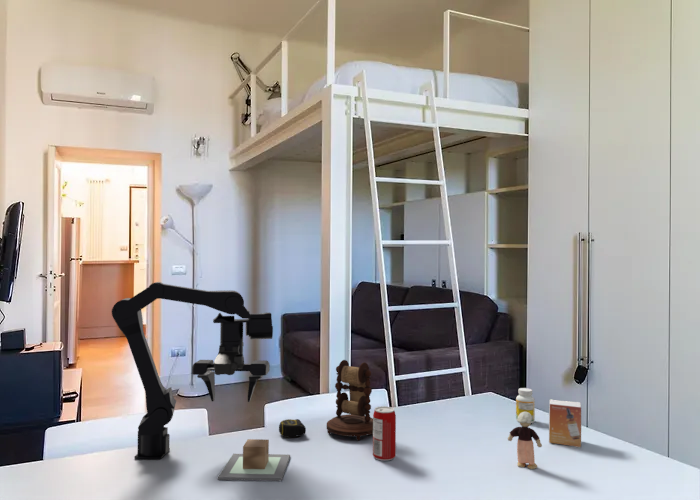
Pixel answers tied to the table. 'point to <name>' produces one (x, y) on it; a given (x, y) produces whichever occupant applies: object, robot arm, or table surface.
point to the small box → (565, 423)
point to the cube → (255, 454)
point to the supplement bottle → (525, 403)
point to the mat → (270, 473)
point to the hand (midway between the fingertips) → (231, 401)
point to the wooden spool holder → (352, 402)
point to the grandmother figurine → (525, 441)
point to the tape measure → (291, 428)
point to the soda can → (384, 433)
